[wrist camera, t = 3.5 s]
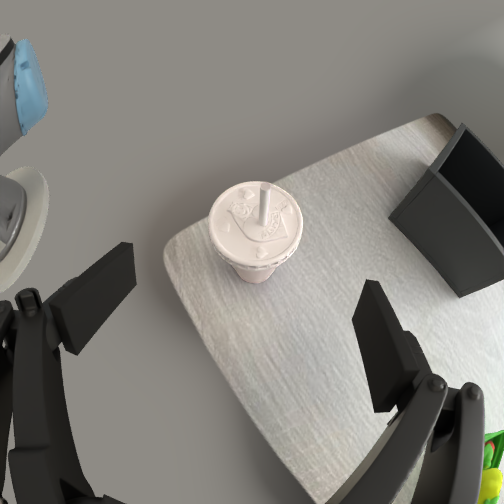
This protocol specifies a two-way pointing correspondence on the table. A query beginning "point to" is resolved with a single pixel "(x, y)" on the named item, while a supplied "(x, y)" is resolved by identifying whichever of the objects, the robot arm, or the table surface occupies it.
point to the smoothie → (255, 228)
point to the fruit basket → (491, 468)
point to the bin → (459, 214)
